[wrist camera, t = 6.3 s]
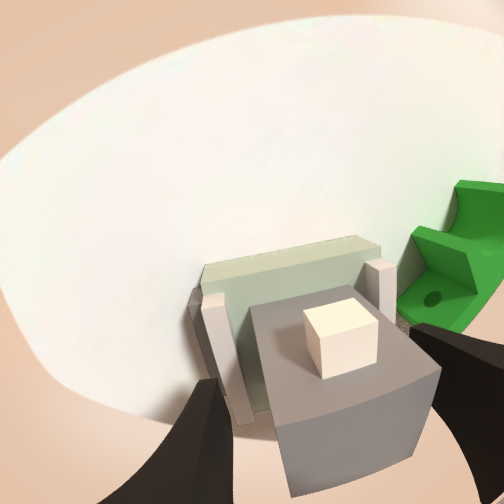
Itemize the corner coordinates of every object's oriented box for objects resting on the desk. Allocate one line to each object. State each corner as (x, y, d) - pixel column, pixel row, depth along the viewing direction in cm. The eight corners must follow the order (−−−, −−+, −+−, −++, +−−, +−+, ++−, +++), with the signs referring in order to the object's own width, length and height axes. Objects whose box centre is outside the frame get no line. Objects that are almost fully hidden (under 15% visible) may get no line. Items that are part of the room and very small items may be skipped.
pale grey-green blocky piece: (354, 234, 13) (396, 253, 9) (359, 353, 15) (387, 392, 11) (187, 267, 13) (174, 300, 9) (222, 385, 14) (222, 434, 11)
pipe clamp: (477, 155, 13) (529, 155, 8) (494, 201, 14) (542, 210, 9) (370, 270, 14) (424, 304, 9) (398, 314, 14) (445, 353, 10)
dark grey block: (346, 255, 10) (450, 324, 5) (350, 362, 12) (411, 455, 6) (243, 277, 10) (265, 385, 4) (265, 383, 12) (291, 497, 6)
